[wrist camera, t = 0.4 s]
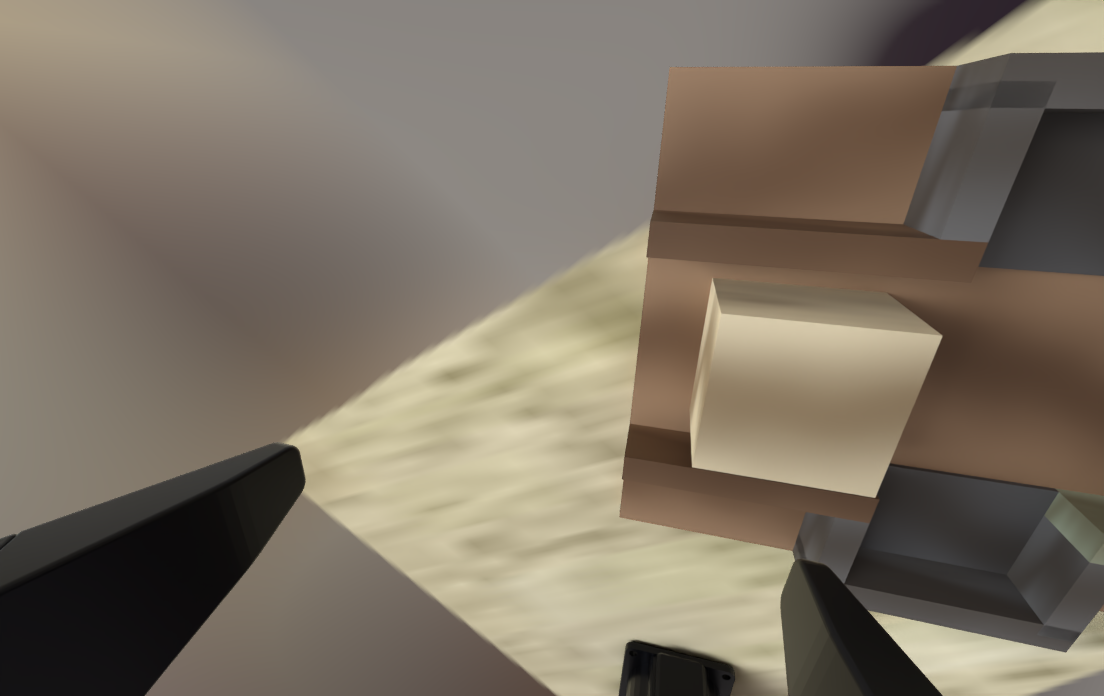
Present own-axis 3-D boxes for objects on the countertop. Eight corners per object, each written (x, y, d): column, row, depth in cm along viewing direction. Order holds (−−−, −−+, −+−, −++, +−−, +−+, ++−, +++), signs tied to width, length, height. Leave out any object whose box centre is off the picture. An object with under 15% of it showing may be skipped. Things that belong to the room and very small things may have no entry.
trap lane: (1240, 620, 19) (1346, 712, 16) (621, 503, 25) (613, 556, 22) (1796, 67, 11) (2236, 42, 8) (670, 70, 16) (668, 56, 13)
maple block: (838, 430, 19) (875, 497, 16) (689, 409, 20) (692, 467, 17) (886, 292, 17) (942, 335, 13) (712, 277, 18) (721, 313, 14)
